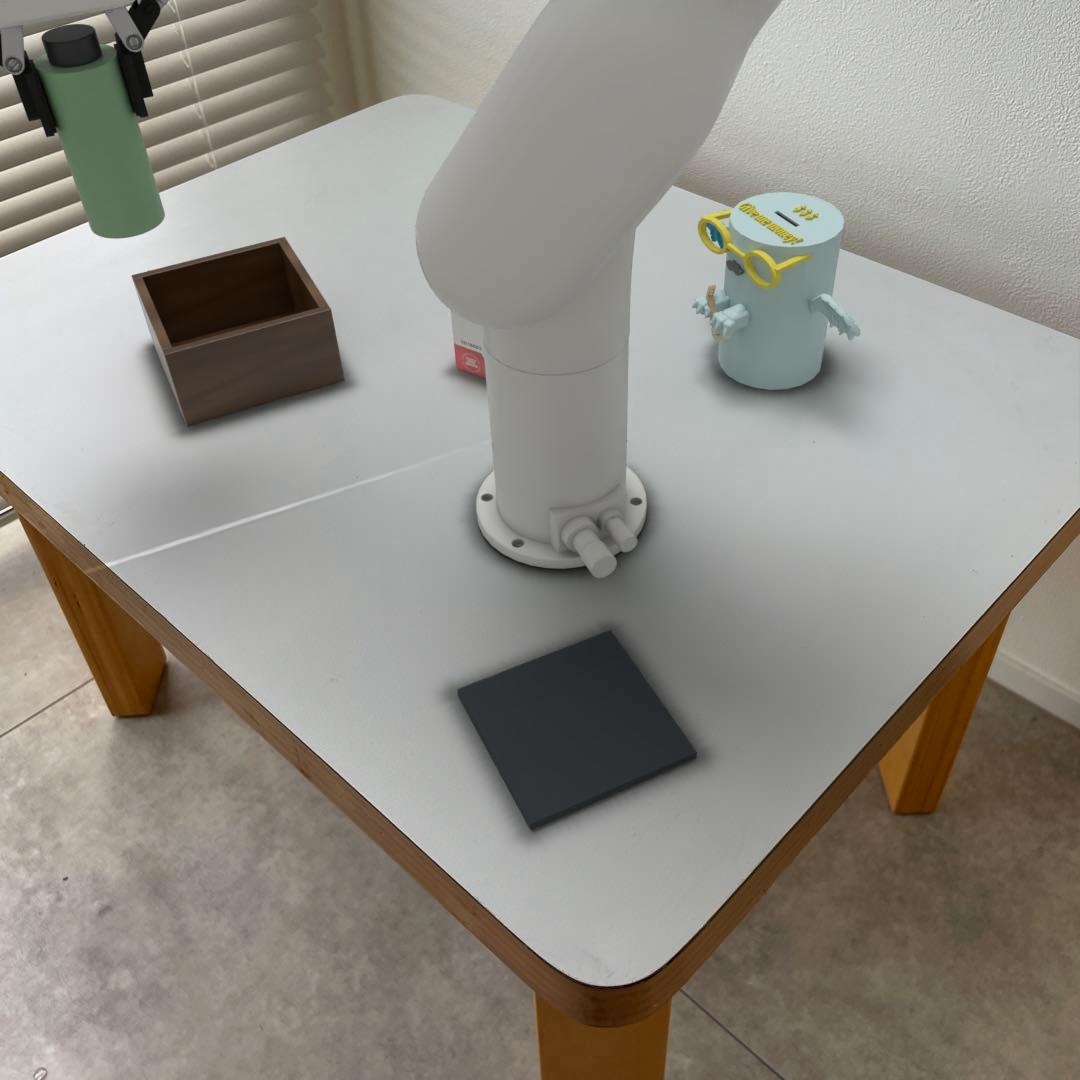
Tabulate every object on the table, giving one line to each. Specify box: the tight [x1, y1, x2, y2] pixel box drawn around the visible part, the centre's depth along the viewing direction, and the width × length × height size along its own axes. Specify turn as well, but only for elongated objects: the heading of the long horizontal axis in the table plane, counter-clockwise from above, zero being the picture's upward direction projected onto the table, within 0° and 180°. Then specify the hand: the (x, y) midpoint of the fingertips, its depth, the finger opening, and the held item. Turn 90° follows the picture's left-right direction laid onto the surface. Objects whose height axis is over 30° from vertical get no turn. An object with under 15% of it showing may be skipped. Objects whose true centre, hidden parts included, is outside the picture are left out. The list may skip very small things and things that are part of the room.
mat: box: [456, 629, 698, 830], centre depth 70 cm, size 11×11×1 cm
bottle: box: [34, 23, 166, 240], centre depth 74 cm, size 5×5×12 cm
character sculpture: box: [691, 191, 861, 391], centre depth 92 cm, size 20×12×13 cm, turn 29°
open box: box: [131, 236, 346, 428], centre depth 97 cm, size 14×14×7 cm
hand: (94, 116), depth 73 cm, fingers closed on bottle, 5 cm apart
